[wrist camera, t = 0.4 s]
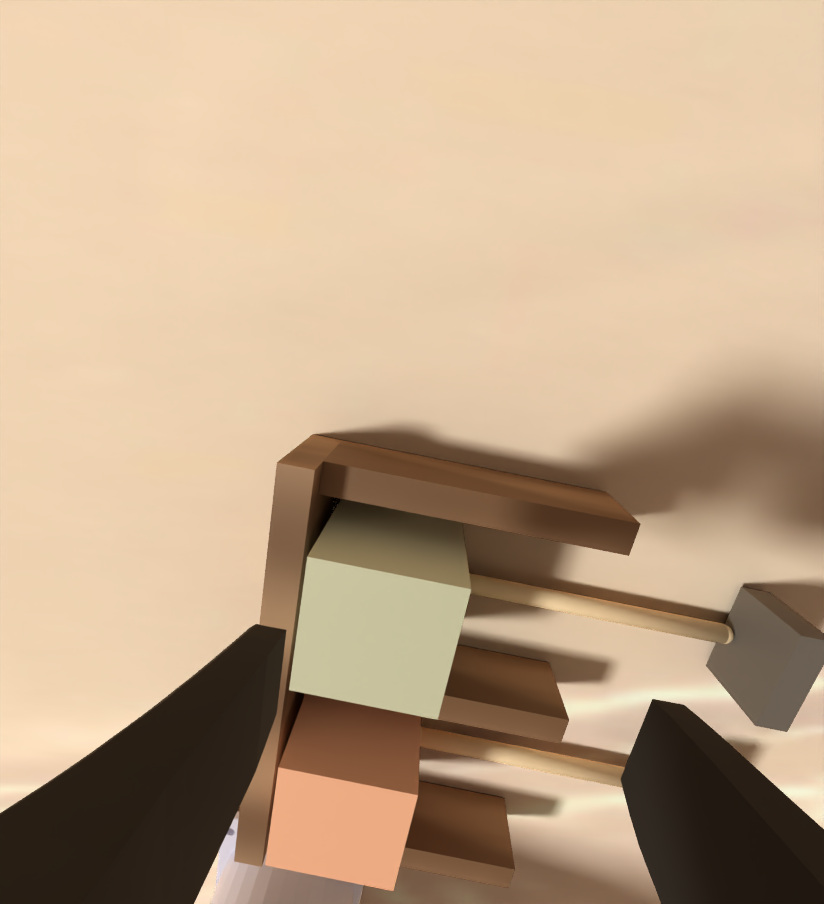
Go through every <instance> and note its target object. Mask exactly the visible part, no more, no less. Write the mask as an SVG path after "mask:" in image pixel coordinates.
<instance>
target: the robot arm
mask: <svg viewBox="0 0 824 904" xmlns="http://www.w3.org/2000/svg"><path fill="white" fill-rule="evenodd" d="M285 639H286V630H285V629H279V628H274V627H269V626H264V625H258V624H255V625H254V626H252V627H250V628H249V629H248V630H247V631H246V632H244V633H243V634H242V635H241V636H240V637H239V638H237V639H236V640H235V641H234V642H233V643H232V644H230V645H229V646H228V647H227V648H226V649H225V650H223V651H222V652H221V653H220V654H219V655H218V656H216V657H215V658H214V659H213V660H212V661H210V662H209V663H208V664H207V665H206V666H204V667H203V668H202V669H201V670H199V671H198V672H197V673H196V674H195V675H193V676H192V677H191V678H190V679H188V680H187V681H186V682H185V683H183V684H182V685H181V686H180V687H178V688H177V689H176V690H174V691H173V692H172V693H171V694H169V695H168V696H167V697H166V698H164V699H163V700H162V701H161V702H159V703H158V704H157V705H155V706H154V707H153V708H152V709H150V710H149V711H148V712H146V713H145V714H144V715H142V716H141V717H140V718H138V719H137V720H135V721H134V722H133V723H131V724H130V725H129V726H127V727H126V728H124V729H123V730H122V731H120V732H119V733H118V734H116V735H115V736H114V737H112V738H111V739H109V740H108V741H107V742H105V743H104V744H103V745H101V746H100V747H98V748H97V749H96V750H94V751H93V752H92V753H90V754H89V755H87V756H86V757H84V758H83V759H81V760H80V761H79V762H77V763H76V764H74V765H73V766H71V767H70V768H68V769H67V770H65V771H64V772H63V773H61V774H60V775H58V776H57V777H55V778H54V779H52V780H51V781H49V782H48V783H46V784H45V785H43V786H42V787H40V788H39V789H37V790H35V791H34V792H32V793H31V794H29V795H28V796H26V797H25V798H23V799H22V800H20V801H18V802H17V803H15V804H14V805H12V806H11V807H9V808H8V809H6V810H4V811H3V812H1V813H0V904H194V902H195V900H196V898H197V896H198V894H199V892H200V889H201V887H202V885H203V883H204V881H205V879H206V877H207V875H208V872H209V870H210V868H211V866H212V864H213V862H214V860H215V858H216V856H217V853H218V851H219V856H218V866H217V877H216V888H215V891H214V894H213V896H212V899H211V901H210V904H360V899H361V895H362V891H363V886H364V885H360V884H355V883H350V882H345V881H340V880H335V879H330V878H325V877H320V876H316V875H311V874H306V873H301V872H296V871H291V870H286V869H281V868H276V867H271V866H266V865H265V862H266V855H267V852H266V855H265V858H264V861H263V864H262V867H259V866H254V865H249V864H244V863H239V862H234V856H235V847H236V837H237V828H238V819H239V811H238V809H239V807H240V805H241V802H242V800H243V798H244V796H245V794H246V792H247V790H248V787H249V785H250V783H251V781H252V779H253V777H254V774H255V772H256V769H257V767H258V764H259V761H260V759H261V756H262V753H263V750H264V748H265V745H266V742H267V739H268V737H269V734H270V731H271V728H272V725H273V723H274V720H275V717H276V714H277V707H278V698H279V690H280V681H281V673H282V664H283V656H284V647H285ZM621 783H622V787H623V791H624V794H625V798H626V802H627V806H628V809H629V813H630V817H631V820H632V823H633V827H634V830H635V834H636V837H637V840H638V844H639V847H640V849H641V852H642V855H643V857H644V860H645V863H646V865H647V868H648V870H649V873H650V876H651V878H652V881H653V883H654V886H655V888H656V891H657V894H658V896H659V899H660V901H661V904H824V829H823V828H822V827H820V826H819V825H818V824H817V823H816V822H815V821H814V820H813V819H812V818H810V817H809V816H808V815H807V814H806V813H805V812H804V811H803V810H802V809H800V808H799V807H798V806H797V805H796V804H795V803H794V802H793V801H792V800H790V799H789V798H788V797H787V796H786V795H785V794H784V793H783V792H782V791H781V790H779V789H778V788H777V787H776V786H775V785H774V784H773V783H772V782H771V781H770V780H768V779H767V778H766V777H765V776H764V775H763V774H762V773H761V772H760V771H759V770H757V769H756V768H755V767H754V766H753V765H752V764H751V763H750V762H749V761H748V760H746V759H745V758H744V757H743V756H742V755H741V754H740V753H739V752H738V751H737V750H735V749H734V748H733V747H732V746H731V745H730V744H729V743H728V742H727V741H725V740H724V739H723V738H722V737H721V736H720V735H719V734H718V733H716V732H715V731H714V730H713V729H712V728H711V727H710V726H709V725H707V724H706V723H705V722H704V721H703V720H702V719H700V718H699V717H698V716H697V715H696V714H694V713H693V712H692V711H691V710H690V709H688V708H687V707H686V706H685V705H682V704H676V703H671V702H666V701H660V700H655V699H652V702H651V704H650V707H649V709H648V712H647V714H646V717H645V719H644V722H643V724H642V727H641V729H640V732H639V734H638V737H637V739H636V742H635V744H634V747H633V749H632V751H631V754H630V756H629V759H628V761H627V764H626V766H625V769H624V771H623V774H622V776H621Z"/></svg>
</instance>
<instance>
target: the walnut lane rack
mask: <svg viewBox="0 0 824 904" xmlns="http://www.w3.org/2000/svg"><path fill="white" fill-rule="evenodd" d="M334 497H335V498H341V499H346V500H351V501H356V502H361V503H366V504H371V505H376V506H381V507H386V508H391V509H396V510H401V511H406V512H411V513H416V514H421V515H426V516H431V517H437V518H442V519H447V520H452V521H457V522H462V523H467V524H472V525H477V526H482V527H487V528H492V529H497V530H502V531H507V532H512V533H517V534H522V535H527V536H533V537H538V538H543V539H548V540H553V541H558V542H563V543H568V544H573V545H578V546H583V547H588V548H593V549H598V550H603V551H608V552H613V553H618V554H623V555H628V556H629V554H630V551H631V549H632V546H633V543H634V540H635V538H636V535H637V532H638V529H639V527H640V523H639V522H638V521H637V520H636V519H635V518H634V517H632V516H631V515H630V514H629V513H628V512H627V511H626V510H625V509H624V508H623V507H622V506H620V505H619V504H618V503H617V502H616V501H615V500H614V499H613V498H612V497H611V496H610V495H608V494H607V493H606V492H602V491H597V490H592V489H587V488H582V487H577V486H572V485H567V484H562V483H556V482H551V481H546V480H541V479H536V478H531V477H526V476H521V475H516V474H511V473H506V472H501V471H496V470H491V469H486V468H480V467H475V466H470V465H465V464H460V463H455V462H450V461H445V460H440V459H435V458H430V457H425V456H420V455H415V454H410V453H404V452H399V451H394V450H389V449H384V448H379V447H374V446H369V445H364V444H359V443H354V442H349V441H344V440H339V439H334V438H329V437H323V436H318V435H311V436H310V437H309V438H308V439H306V440H305V441H304V442H303V443H301V444H300V445H299V446H298V447H296V448H295V449H294V450H292V451H291V452H290V453H289V454H287V455H286V456H285V457H284V458H282V459H281V460H280V461H279V462H277V468H276V477H275V486H274V496H273V505H272V514H271V523H270V532H269V542H268V551H267V560H266V569H265V579H264V588H263V597H262V606H261V616H260V625H264V626H269V627H274V628H279V629H285V630H286V639H285V647H284V656H283V664H282V673H281V681H280V690H279V698H278V707H277V714H276V717H275V720H274V723H273V725H272V728H271V731H270V734H269V737H268V739H267V742H266V745H265V748H264V750H263V753H262V756H261V759H260V761H259V764H258V767H257V769H256V772H255V774H254V777H253V779H252V781H251V783H250V785H249V787H248V790H247V792H246V794H245V796H244V798H243V800H242V802H241V805H240V810H239V819H238V828H237V837H236V847H235V856H234V862H239V863H244V864H249V865H254V866H259V867H262V864H263V861H264V858H265V855H266V852H267V847H268V840H269V833H270V825H271V818H272V811H273V803H274V796H275V789H276V781H277V774H278V767H279V764H280V762H281V759H282V756H283V753H284V751H285V748H286V745H287V743H288V740H289V737H290V734H291V732H292V729H293V726H294V724H295V721H296V718H297V715H298V713H299V710H300V707H301V704H302V702H303V699H304V693H301V692H296V691H291V690H289V686H290V679H291V672H292V664H293V657H294V650H295V642H296V635H297V628H298V620H299V613H300V606H301V599H302V591H303V584H304V577H305V569H306V562H307V556H308V555H309V553H310V551H311V549H312V548H313V546H314V544H315V543H316V541H317V539H318V538H319V536H320V534H321V532H322V531H323V529H324V527H325V526H326V524H327V522H328V520H329V519H330V517H331V511H332V505H333V498H334ZM438 720H443V721H448V722H453V723H458V724H463V725H468V726H473V727H478V728H483V729H488V730H493V731H498V732H503V733H508V734H513V735H518V736H523V737H528V738H533V739H538V740H543V741H548V742H553V743H558V744H561V741H562V738H563V735H564V733H565V730H566V727H567V725H568V722H569V718H568V716H567V713H566V710H565V707H564V704H563V701H562V698H561V695H560V692H559V690H558V687H557V684H556V681H555V678H554V675H553V672H552V669H551V666H550V664H549V663H547V662H542V661H537V660H532V659H527V658H522V657H517V656H512V655H507V654H502V653H497V652H492V651H487V650H482V649H477V648H472V647H467V646H462V645H457V647H456V651H455V655H454V658H453V662H452V666H451V670H450V674H449V678H448V682H447V685H446V689H445V693H444V697H443V701H442V705H441V709H440V713H439V716H438ZM400 866H401V867H406V868H411V869H416V870H421V871H426V872H431V873H436V874H441V875H446V876H451V877H456V878H461V879H466V880H471V881H476V882H481V883H486V884H491V885H496V886H501V887H505V888H508V887H509V884H510V881H511V878H512V876H513V873H514V870H515V868H514V861H513V854H512V848H511V841H510V834H509V827H508V820H507V814H506V807H505V800H504V798H501V797H496V796H491V795H486V794H481V793H476V792H471V791H466V790H461V789H456V788H451V787H446V786H441V785H436V784H431V783H426V782H421V781H419V785H418V798H417V801H416V805H415V809H414V813H413V817H412V821H411V825H410V828H409V832H408V836H407V840H406V844H405V848H404V852H403V856H402V859H401V863H400Z"/></svg>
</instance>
